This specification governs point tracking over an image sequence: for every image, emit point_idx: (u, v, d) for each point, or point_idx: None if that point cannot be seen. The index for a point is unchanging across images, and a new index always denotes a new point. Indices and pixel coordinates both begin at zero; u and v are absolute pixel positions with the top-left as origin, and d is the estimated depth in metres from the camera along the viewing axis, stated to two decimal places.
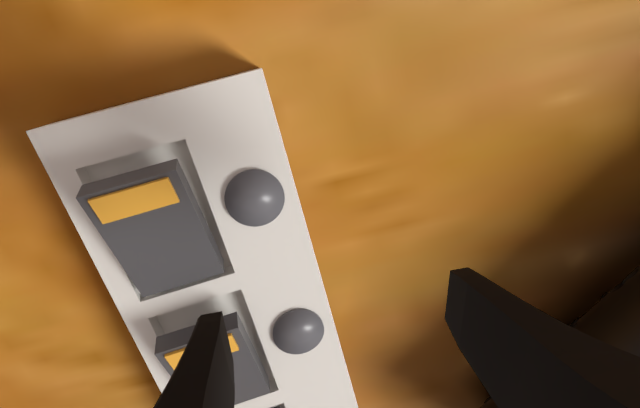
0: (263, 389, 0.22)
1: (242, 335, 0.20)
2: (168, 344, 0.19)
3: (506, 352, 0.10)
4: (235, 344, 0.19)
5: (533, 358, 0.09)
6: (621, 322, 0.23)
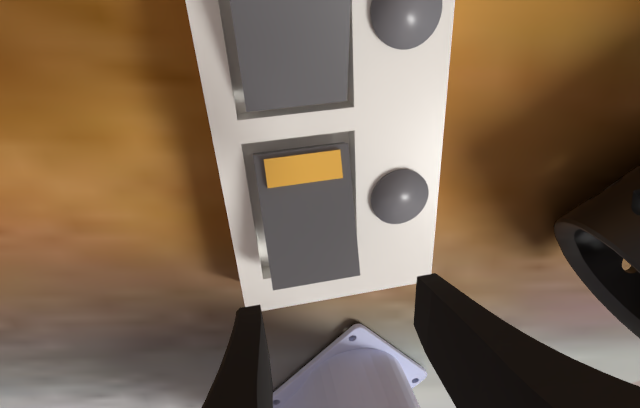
0: (340, 89, 0.16)
1: None
2: None
3: (466, 360, 0.10)
4: None
5: (489, 368, 0.09)
6: None
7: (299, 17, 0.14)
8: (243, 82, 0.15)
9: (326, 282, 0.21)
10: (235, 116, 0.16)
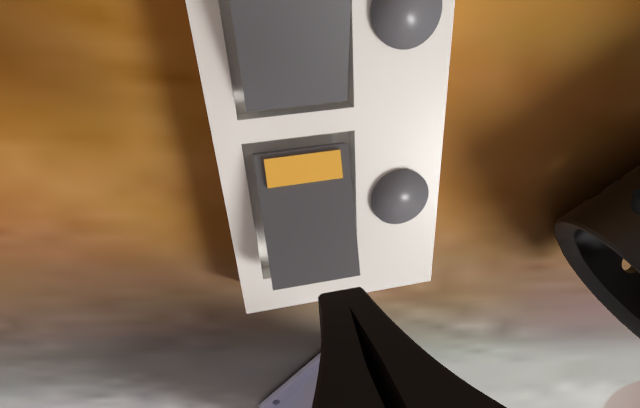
0: (340, 89, 0.16)
1: None
2: None
3: (375, 380, 0.10)
4: None
5: (388, 389, 0.09)
6: None
7: (299, 17, 0.14)
8: (243, 82, 0.15)
9: (326, 282, 0.21)
10: (235, 116, 0.16)
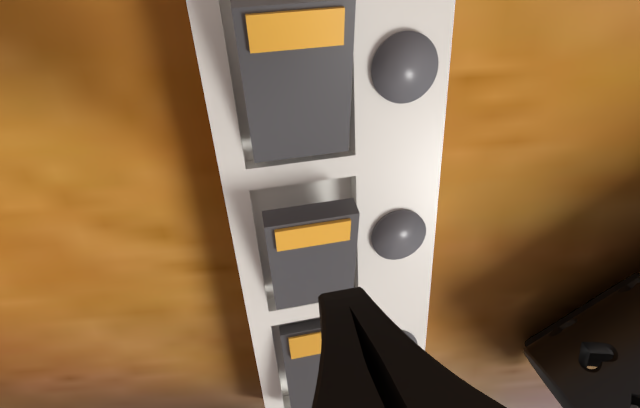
0: None
1: (357, 224, 0.17)
2: (278, 220, 0.17)
3: (375, 380, 0.10)
4: (349, 232, 0.17)
5: (388, 390, 0.09)
6: None
7: (318, 261, 0.18)
8: (275, 295, 0.20)
9: None
10: (267, 309, 0.21)
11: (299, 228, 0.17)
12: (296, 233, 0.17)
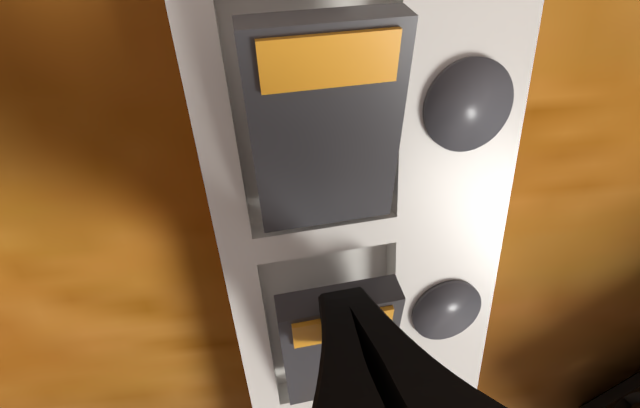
0: None
1: None
2: (297, 309, 0.12)
3: (375, 380, 0.10)
4: None
5: (389, 389, 0.09)
6: None
7: None
8: (289, 391, 0.15)
9: None
10: (278, 402, 0.16)
11: None
12: None
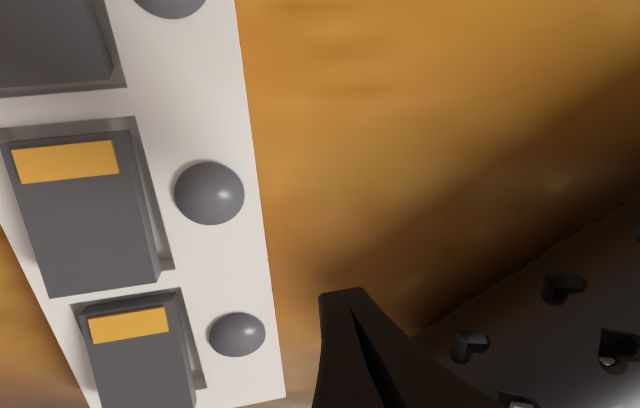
0: (146, 272, 0.16)
1: (127, 153, 0.15)
2: (24, 141, 0.14)
3: (375, 380, 0.10)
4: (114, 160, 0.14)
5: (388, 390, 0.09)
6: (598, 252, 0.19)
7: (88, 210, 0.15)
8: (41, 270, 0.15)
9: None
10: None
11: (43, 147, 0.14)
12: (42, 155, 0.14)
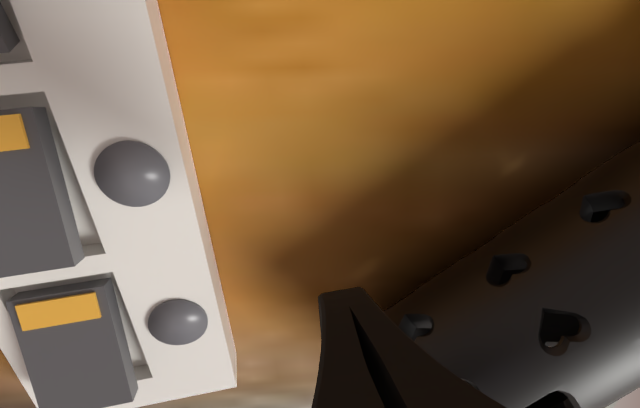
0: (63, 254, 0.15)
1: (38, 128, 0.14)
2: None
3: (375, 380, 0.10)
4: (23, 135, 0.14)
5: (388, 390, 0.09)
6: (544, 231, 0.19)
7: None
8: None
9: None
10: None
11: None
12: None
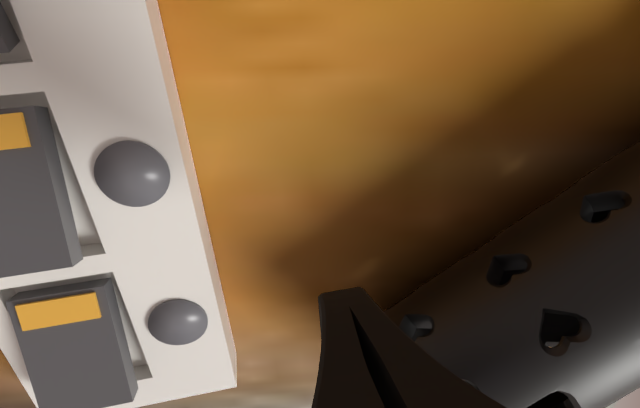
0: (61, 254, 0.15)
1: (40, 127, 0.14)
2: None
3: (375, 380, 0.10)
4: (24, 133, 0.14)
5: (388, 390, 0.09)
6: (545, 231, 0.19)
7: None
8: None
9: None
10: None
11: None
12: None
